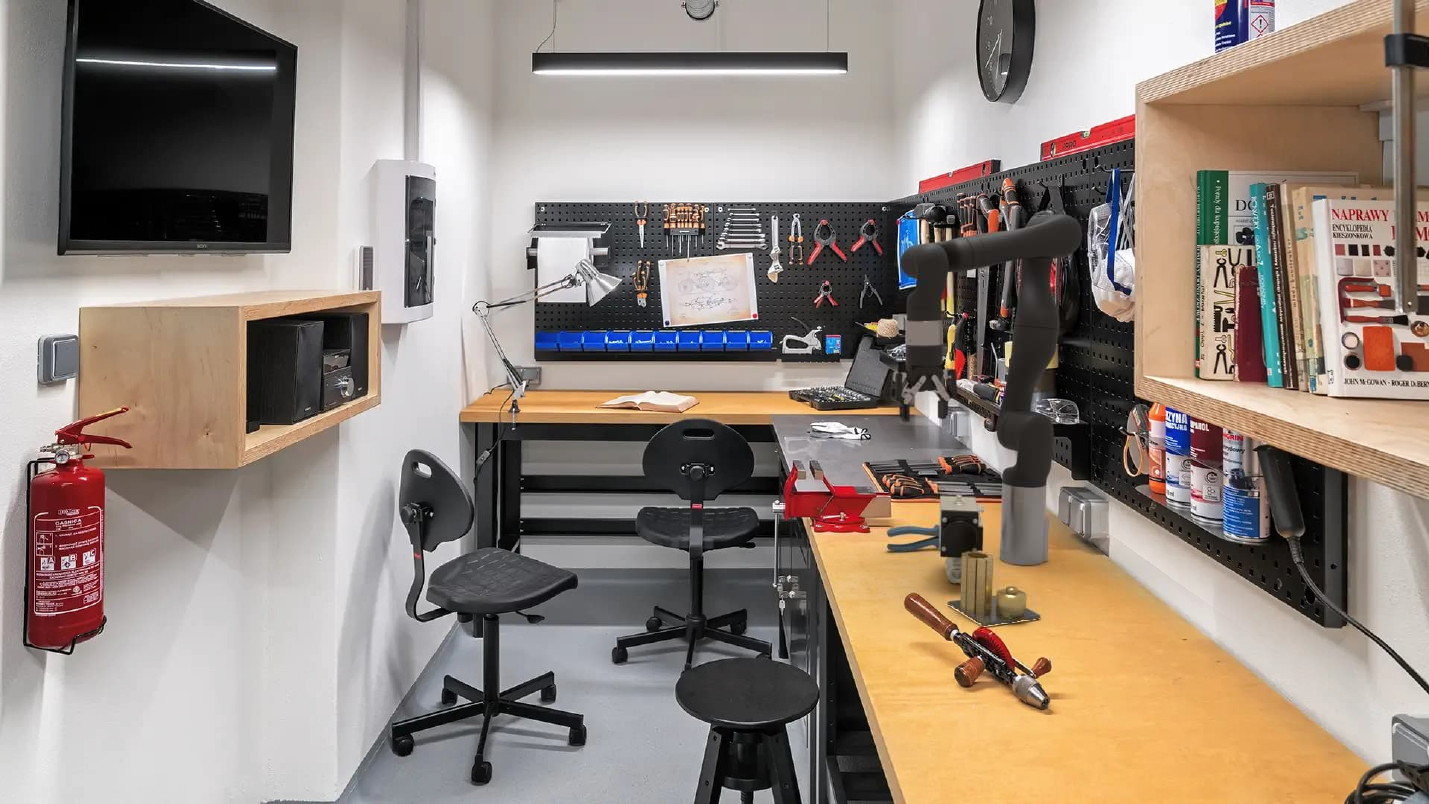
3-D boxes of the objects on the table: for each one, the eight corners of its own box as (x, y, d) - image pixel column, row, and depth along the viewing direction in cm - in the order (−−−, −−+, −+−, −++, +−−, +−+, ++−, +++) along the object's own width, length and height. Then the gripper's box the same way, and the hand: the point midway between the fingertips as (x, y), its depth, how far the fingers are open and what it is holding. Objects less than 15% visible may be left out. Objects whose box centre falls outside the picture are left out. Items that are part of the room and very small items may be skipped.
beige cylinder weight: (1014, 608, 176) (1015, 582, 175) (1031, 617, 171) (1032, 591, 170) (990, 611, 174) (991, 585, 173) (1007, 621, 169) (1008, 594, 168)
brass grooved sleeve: (967, 600, 180) (968, 549, 179) (996, 606, 177) (998, 554, 175) (955, 608, 176) (956, 556, 174) (985, 614, 172) (987, 562, 171)
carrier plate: (1001, 598, 183) (1002, 573, 182) (1040, 619, 172) (1041, 593, 171) (947, 605, 180) (948, 580, 179) (983, 627, 168) (984, 600, 168)
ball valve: (984, 594, 185) (986, 506, 183) (939, 592, 187) (941, 504, 185) (978, 567, 203) (981, 486, 201) (938, 565, 205) (940, 485, 202)
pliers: (968, 546, 219) (969, 521, 218) (972, 549, 216) (972, 524, 216) (885, 550, 216) (885, 525, 215) (888, 553, 214) (888, 528, 213)
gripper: (902, 345, 188) (902, 425, 190) (964, 341, 192) (963, 420, 195) (884, 343, 195) (884, 420, 197) (944, 339, 199) (944, 415, 202)
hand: (924, 420), depth 196 cm, fingers open, 8 cm apart
